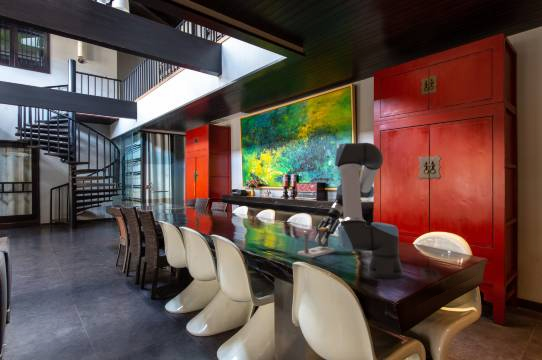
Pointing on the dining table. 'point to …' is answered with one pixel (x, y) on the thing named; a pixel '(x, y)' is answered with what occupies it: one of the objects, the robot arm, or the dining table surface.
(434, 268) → the dining table surface
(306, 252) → the base plate with post
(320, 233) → the orange and black block
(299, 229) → the bar
